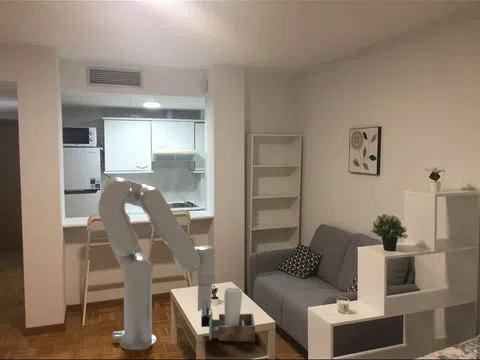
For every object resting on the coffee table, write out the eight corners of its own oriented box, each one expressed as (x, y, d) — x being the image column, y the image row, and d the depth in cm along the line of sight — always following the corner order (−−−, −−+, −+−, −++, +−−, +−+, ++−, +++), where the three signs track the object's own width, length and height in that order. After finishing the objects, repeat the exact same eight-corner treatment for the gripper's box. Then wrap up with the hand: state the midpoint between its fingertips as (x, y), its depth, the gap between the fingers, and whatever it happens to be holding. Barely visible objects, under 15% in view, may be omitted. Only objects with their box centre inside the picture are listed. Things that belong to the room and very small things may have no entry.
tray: (209, 339, 147) (209, 320, 147) (210, 325, 160) (210, 308, 159) (244, 339, 148) (245, 320, 147) (243, 325, 160) (243, 308, 160)
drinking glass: (242, 327, 156) (244, 288, 157) (237, 333, 149) (239, 292, 150) (225, 325, 158) (227, 286, 158) (220, 330, 151) (222, 290, 152)
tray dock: (218, 342, 147) (218, 326, 147) (219, 328, 160) (219, 313, 160) (254, 342, 148) (255, 326, 148) (252, 328, 160) (252, 313, 160)
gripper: (196, 273, 160) (197, 318, 161) (193, 285, 145) (194, 334, 146) (215, 273, 160) (215, 318, 161) (214, 284, 145) (215, 334, 146)
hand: (205, 325), depth 153 cm, fingers closed
